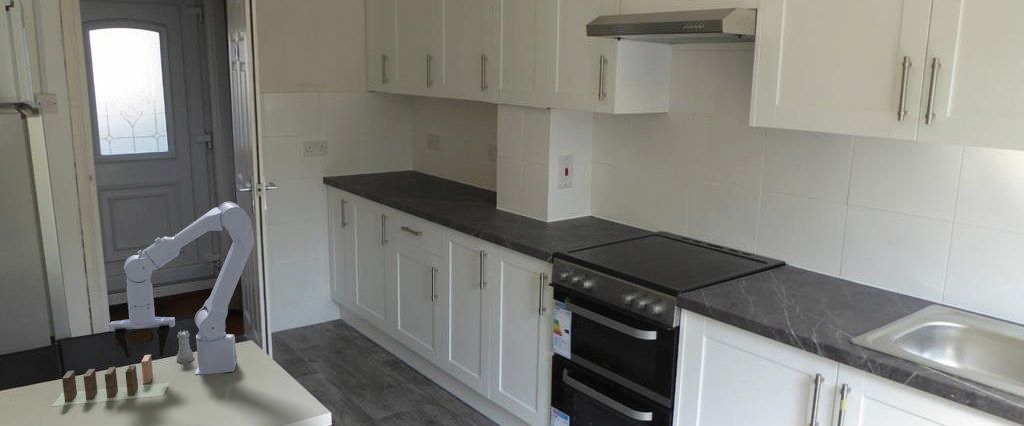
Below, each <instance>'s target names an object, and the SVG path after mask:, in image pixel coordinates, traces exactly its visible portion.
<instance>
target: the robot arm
mask: <svg viewBox="0 0 1024 426" xmlns="http://www.w3.org/2000/svg"><path fill="white" fill-rule="evenodd" d="M223 228H225V230H226V231H227V232H228V234H229V236H230V238H231V241H232V244H231V246H230V248H229V250H228V253H227V255H226V258H225V260H224V262H223V264H222V266H221V269H220V271H219V274H218V276H217V279H216V281H215V284H214V286H213V288H212V291H211V293H210V296H209V297H208V298H207V299H206V300H205V302H204V304H203V306H202V307H201V308H200V309H199V310H198V311H197V312H196V313H195V316H194V323H195V325H196V327H197V328H198V332H197V334H196V335H195V340H196V341H195V343H196V353H197V355H196V356H197V363H198V364H197V368H196V370H195V373H194V375H196V376H200V375H210V374H211V375H212V374H220V373H231V372H235V368H236V367H237V366H236V365H237V362H238V358H237V356H238V355H237V349H236V337H235V334H233V333H232V334H230V333H228V334H227V333H226V326H227V325H226V319H227V316H228V310H229V305H230V302H231V301H232V300H231V299H232V297H233V294H234V292H235V289H236V287H237V285H238V282H239V280H240V278H241V276H242V274H243V271H244V270H245V265H246V264H247V261H248V259H249V257H250V254H251V253H252V252H251V251H252V250H253V247H254V245H255V238H254V232H253V231H254V230H253V227H252V219H251V217H250V216H249V214H248V213H247V212H246V211H245V209H243V208H241V207H240V205H238V203H236V202H233V201H225V202H223V203H221V204H220V205H219V206H218V207H217V206H216V207H214V208H211V209H210V210H209V211H208V212H206V213H205V214H203V215H201V216H200V217H199V218H197V219H196V220H195V221H193V222H192V223H190V224H189V225H188V226H186V227H185V228H183V229H182V230H181V231H179V232H178V233H176V234H175V235H174V236H162V237H161V238H160V237H157V238H155V239H154V243H153V244H150V245H149V246H148V247H145V248H144V249H143V250H142V249H140V250H138V251H137V254H134V255H131V256H129V257H128V258H127V259H126V260H125V262H124V266H123V270H124V272H125V275H126V295H127V307H128V308H127V309H128V317H129V319H123V320H115V321H111V322H110V323H109V331H110V332H114V338H115V339H116V340H117V342H118V343H119V344H120V345H121V347H122V349H123V351H124V354H125V355H124V356H125V357H126V359H131V356H132V348H131V347H132V346H131V342H130V341H131V340H130V339H131V337H130V334H131V332H130V330H133V329H134V330H138V329H151V328H153V329H154V328H158V329H157V332H156V333H157V338H158V343H159V344H158V345H159V349H158V350H159V351H158V352H159V357H161V356H164V355H165V349H166V348H165V347H166V342H167V339H168V335H169V333H170V331H171V328H175V325H176V318H175V317H174V316H172V317H169V316H168V317H165V316H163V317H162V316H156V315H155V314H156V313H155V300H154V289H153V283H152V278H151V277H152V274H153V271H157V270H159V269H161V268H162V267H163V266H165V265H166V264H168V263H169V262H171V261H172V260H173V259H176V257H179V255H180V251H181V249H182V248H183V247H185V246H186V245H188V244H189V243H191V242H193V241H194V240H196V239H197V238H199V237H201V236H202V235H204V234H206V233H208V232H209V231H210V232H211V231H212V232H215V231H216V232H222V231H223Z"/></svg>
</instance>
